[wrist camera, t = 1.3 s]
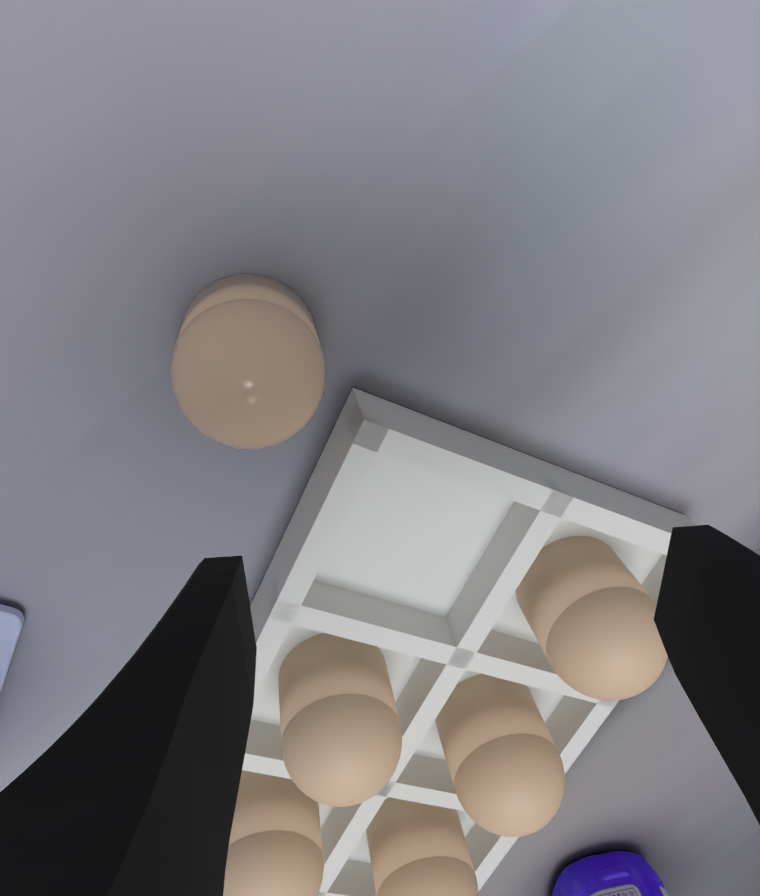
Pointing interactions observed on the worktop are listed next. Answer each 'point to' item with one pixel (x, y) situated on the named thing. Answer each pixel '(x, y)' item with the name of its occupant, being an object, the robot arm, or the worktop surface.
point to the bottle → (609, 877)
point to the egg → (248, 362)
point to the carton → (434, 657)
